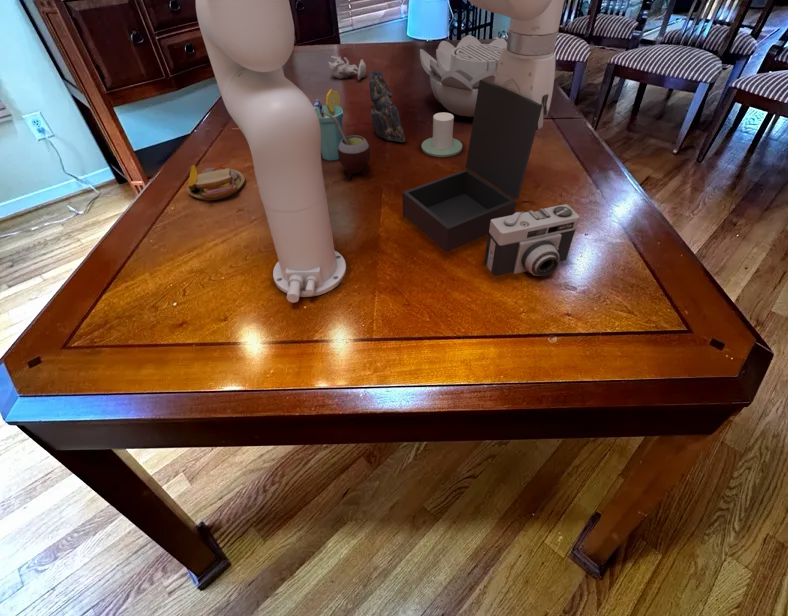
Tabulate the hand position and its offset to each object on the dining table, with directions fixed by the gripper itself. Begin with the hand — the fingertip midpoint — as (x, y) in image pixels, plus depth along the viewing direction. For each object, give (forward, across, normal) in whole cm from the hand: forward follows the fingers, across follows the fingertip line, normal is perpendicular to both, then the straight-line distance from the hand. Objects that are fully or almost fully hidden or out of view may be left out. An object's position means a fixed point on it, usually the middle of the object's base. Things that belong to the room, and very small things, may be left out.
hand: (513, 151), depth 84 cm
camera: (+11, +18, -11) cm, 24 cm away
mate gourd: (+11, -28, -20) cm, 36 cm away
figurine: (+11, -85, +9) cm, 87 cm away
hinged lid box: (+11, 0, -12) cm, 17 cm away
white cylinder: (+10, -28, +4) cm, 30 cm away
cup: (+11, -39, -21) cm, 45 cm away
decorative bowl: (+11, -40, +26) cm, 49 cm away
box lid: (-3, 0, -4) cm, 5 cm away
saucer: (+11, -27, +4) cm, 30 cm away
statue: (+11, -40, -4) cm, 42 cm away
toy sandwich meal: (+11, -40, -48) cm, 63 cm away
